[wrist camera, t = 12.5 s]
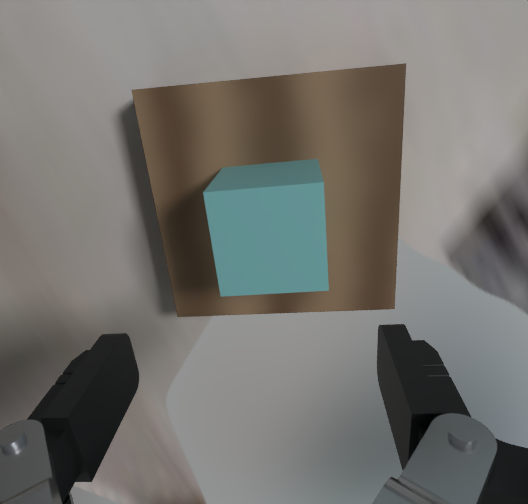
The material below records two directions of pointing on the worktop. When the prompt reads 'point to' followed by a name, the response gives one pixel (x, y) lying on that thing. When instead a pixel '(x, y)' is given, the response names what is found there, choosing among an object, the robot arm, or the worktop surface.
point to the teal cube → (268, 228)
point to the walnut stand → (281, 150)
